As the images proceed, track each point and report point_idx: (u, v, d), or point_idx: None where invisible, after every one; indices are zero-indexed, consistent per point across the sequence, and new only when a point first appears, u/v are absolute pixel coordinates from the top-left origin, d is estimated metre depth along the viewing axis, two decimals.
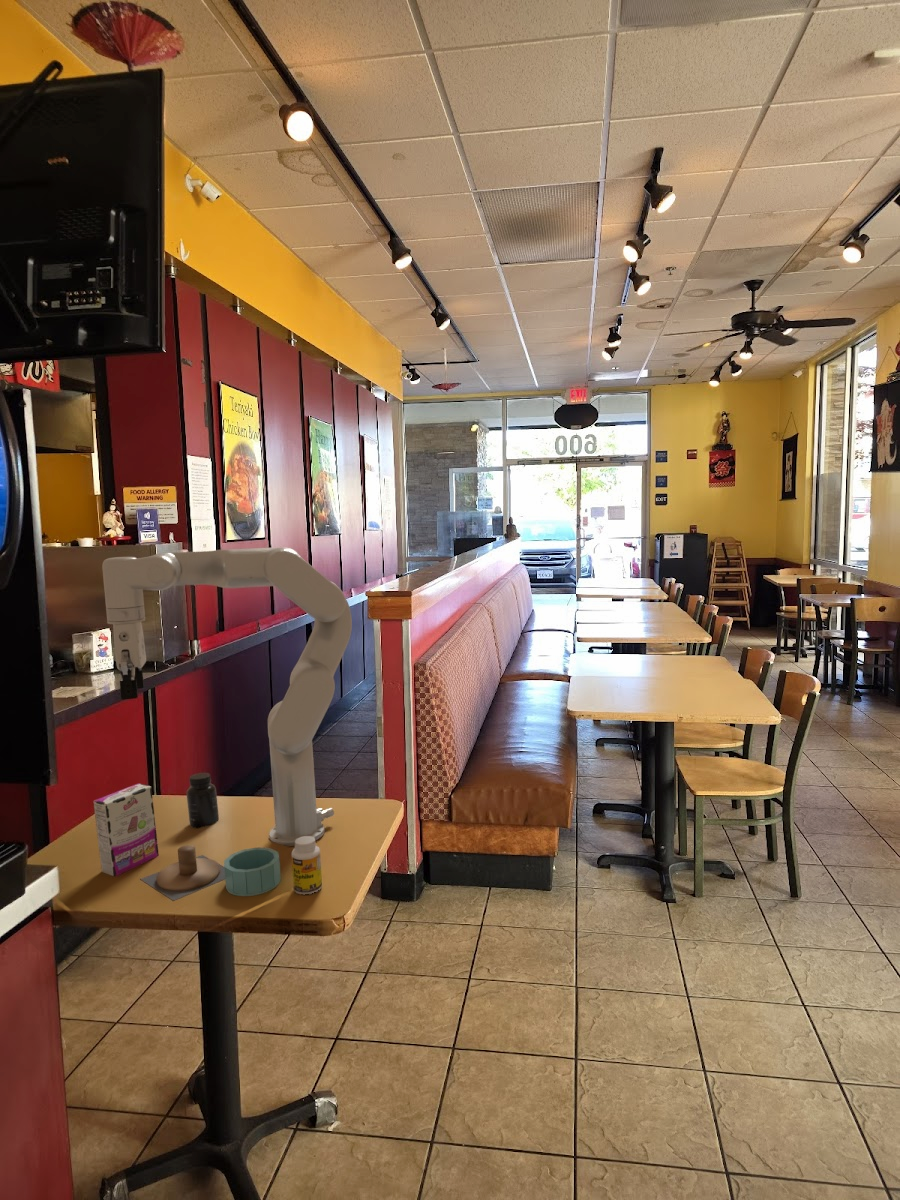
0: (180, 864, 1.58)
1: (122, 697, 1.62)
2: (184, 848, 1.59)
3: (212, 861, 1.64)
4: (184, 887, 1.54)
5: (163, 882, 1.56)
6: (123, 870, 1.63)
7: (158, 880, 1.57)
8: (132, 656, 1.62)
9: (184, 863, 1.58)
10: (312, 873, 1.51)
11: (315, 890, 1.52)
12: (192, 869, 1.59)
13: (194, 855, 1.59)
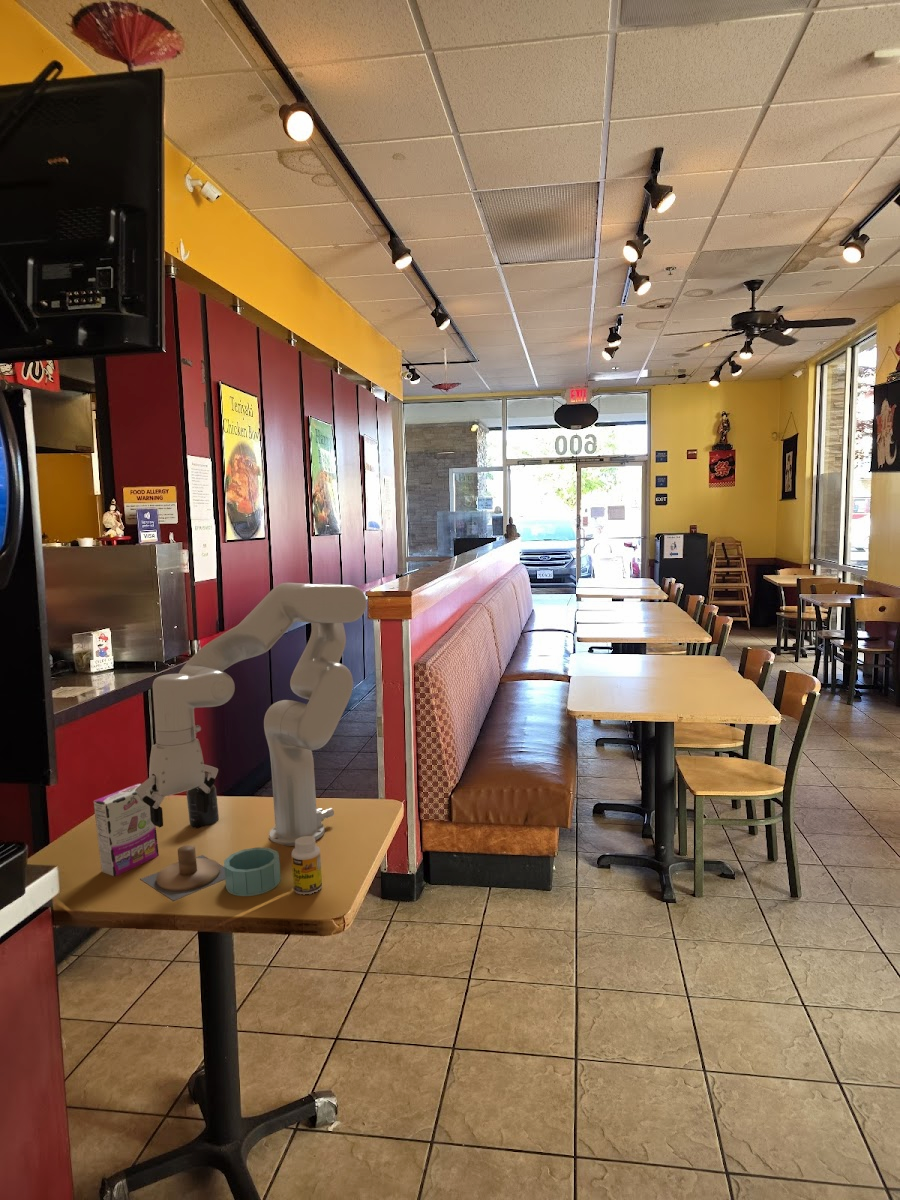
0: (180, 864, 1.58)
1: None
2: (184, 848, 1.59)
3: (212, 861, 1.64)
4: (184, 887, 1.54)
5: (163, 882, 1.56)
6: (123, 870, 1.63)
7: (158, 880, 1.57)
8: None
9: (184, 863, 1.58)
10: (312, 873, 1.51)
11: (315, 890, 1.52)
12: (192, 869, 1.59)
13: (194, 855, 1.59)
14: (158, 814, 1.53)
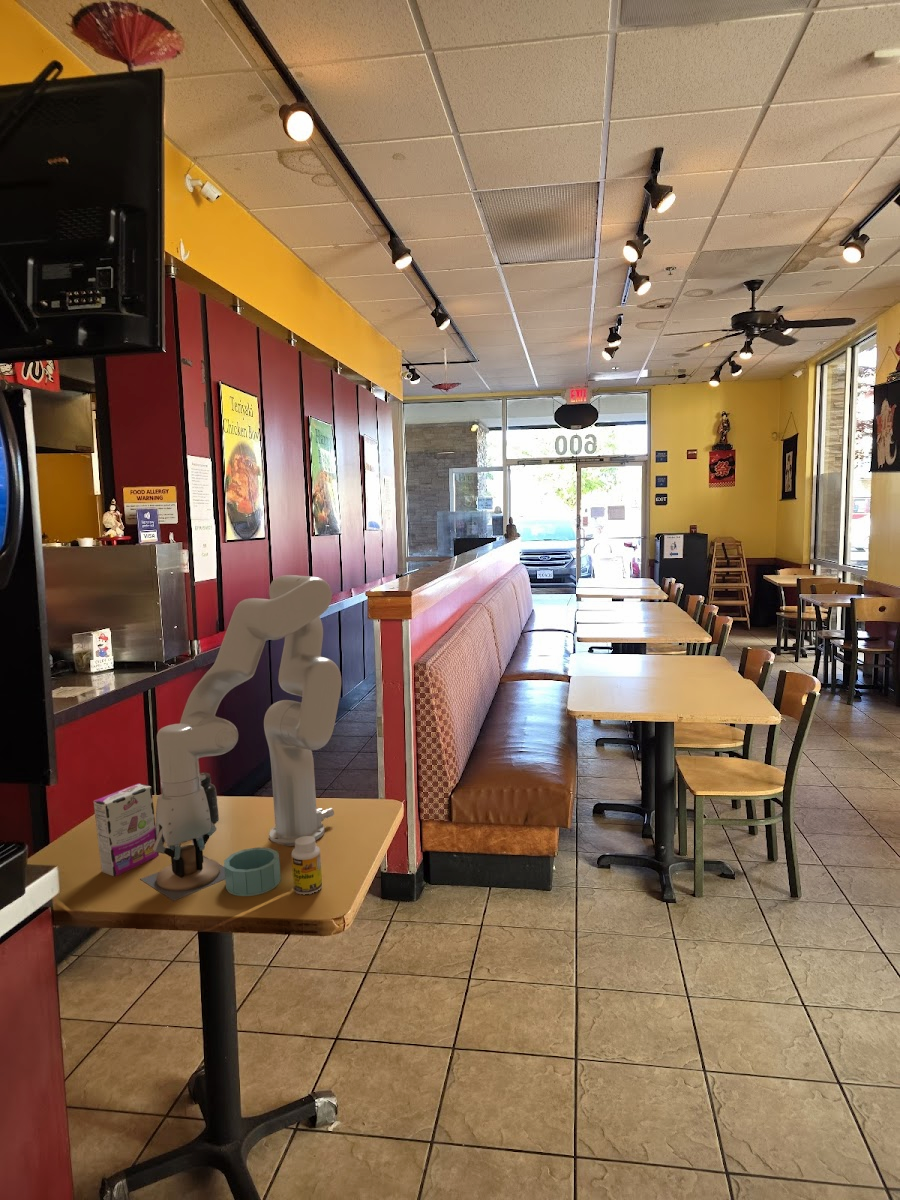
0: None
1: None
2: (184, 848, 1.59)
3: (212, 860, 1.64)
4: (184, 887, 1.54)
5: (163, 882, 1.56)
6: (123, 870, 1.63)
7: (158, 880, 1.57)
8: None
9: (184, 863, 1.58)
10: (312, 873, 1.51)
11: (315, 890, 1.52)
12: (192, 869, 1.59)
13: (194, 855, 1.59)
14: (179, 865, 1.57)
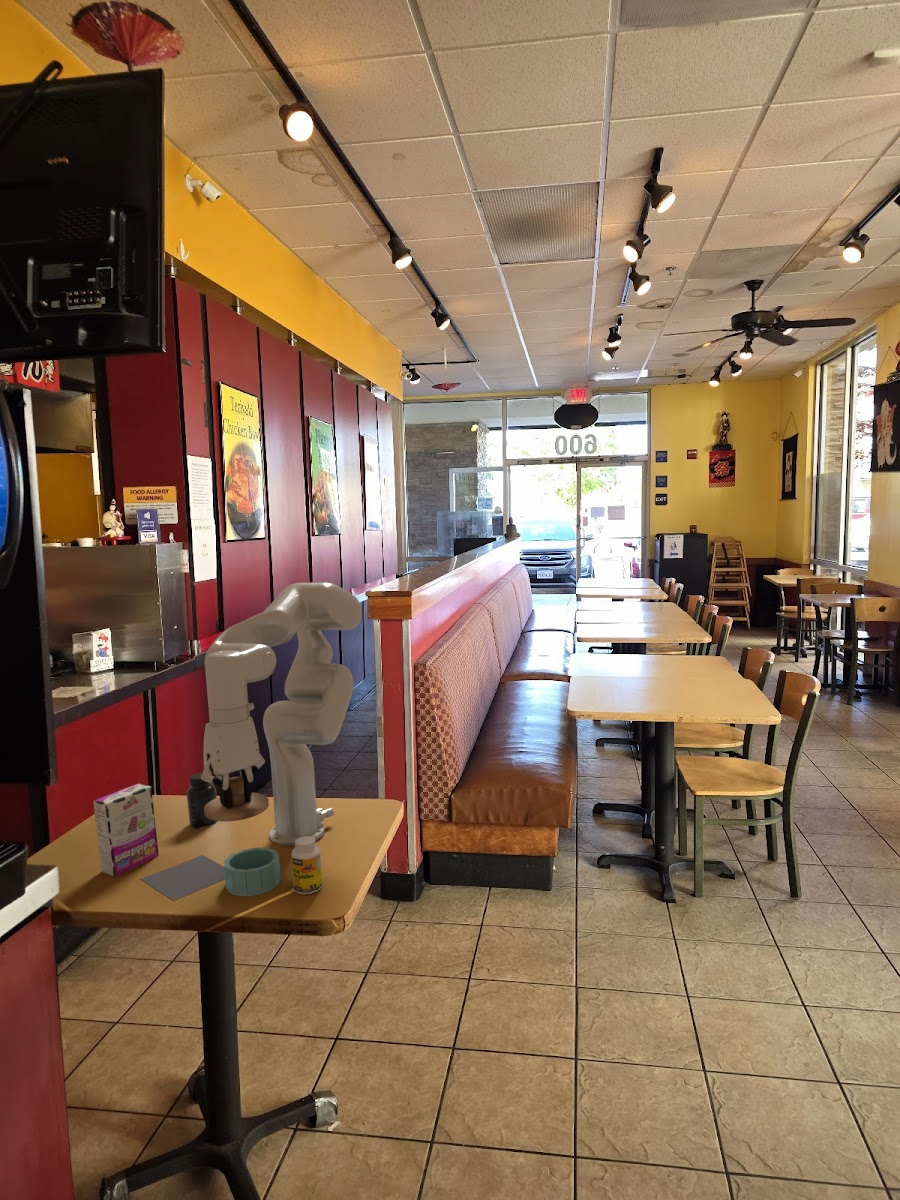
0: None
1: None
2: (232, 779, 1.54)
3: (260, 794, 1.59)
4: (233, 817, 1.49)
5: (211, 812, 1.51)
6: (123, 870, 1.63)
7: (206, 811, 1.52)
8: None
9: (232, 794, 1.53)
10: (312, 873, 1.51)
11: (315, 890, 1.52)
12: (240, 800, 1.54)
13: (242, 786, 1.54)
14: (227, 795, 1.52)
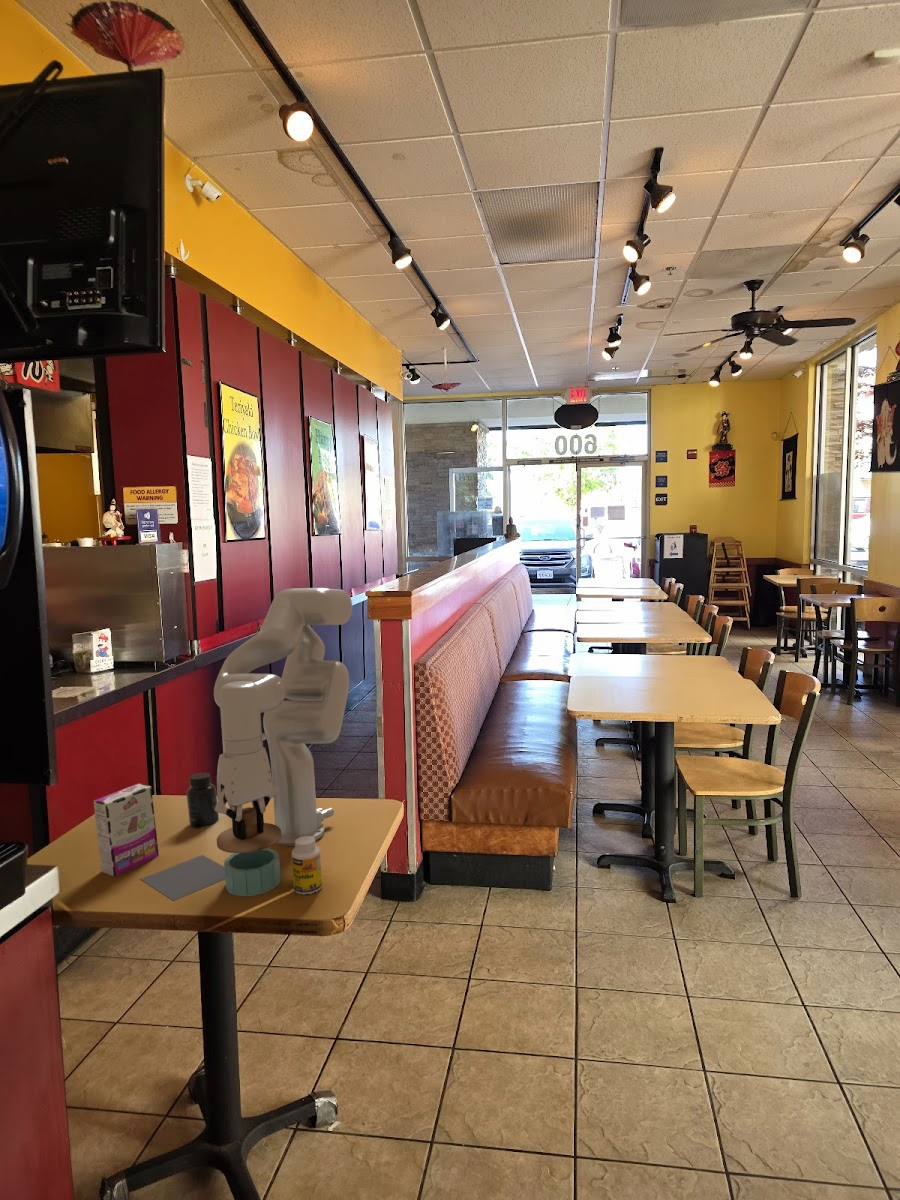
0: None
1: None
2: (245, 810, 1.54)
3: (272, 825, 1.59)
4: (247, 848, 1.49)
5: (224, 844, 1.50)
6: (123, 870, 1.63)
7: (219, 842, 1.51)
8: None
9: (245, 825, 1.53)
10: (312, 873, 1.51)
11: (315, 890, 1.52)
12: (253, 831, 1.53)
13: (255, 817, 1.54)
14: (241, 827, 1.52)
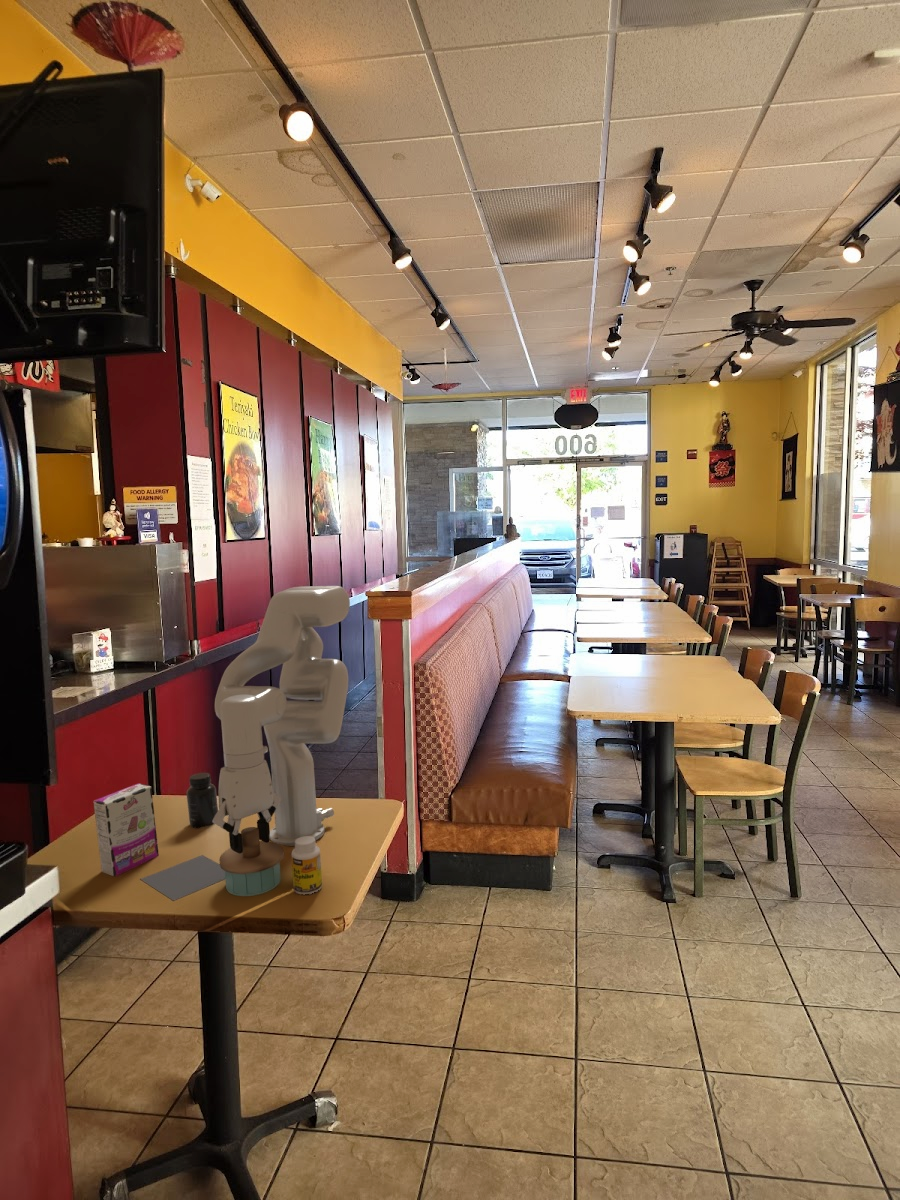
0: (244, 846, 1.54)
1: None
2: (247, 830, 1.55)
3: (274, 843, 1.60)
4: (250, 869, 1.50)
5: (227, 864, 1.51)
6: (123, 870, 1.63)
7: (222, 862, 1.52)
8: None
9: (248, 845, 1.54)
10: (312, 873, 1.51)
11: (315, 890, 1.52)
12: (256, 851, 1.54)
13: (258, 837, 1.55)
14: (238, 840, 1.52)
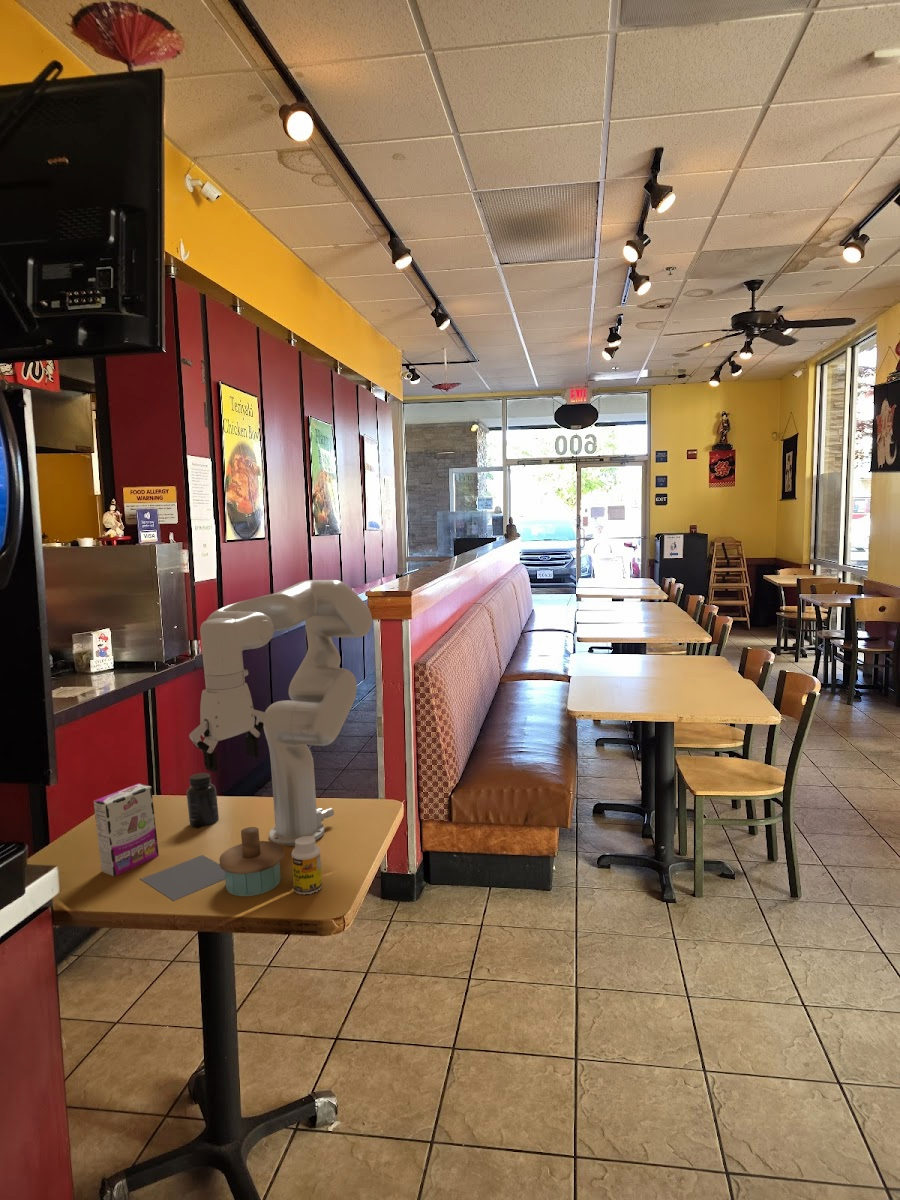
0: (244, 846, 1.54)
1: None
2: (247, 830, 1.55)
3: (274, 843, 1.60)
4: (250, 869, 1.50)
5: (227, 864, 1.51)
6: (123, 870, 1.63)
7: (222, 862, 1.52)
8: None
9: (248, 845, 1.54)
10: (312, 873, 1.51)
11: (315, 890, 1.52)
12: (256, 851, 1.54)
13: (258, 837, 1.55)
14: (212, 759, 1.52)
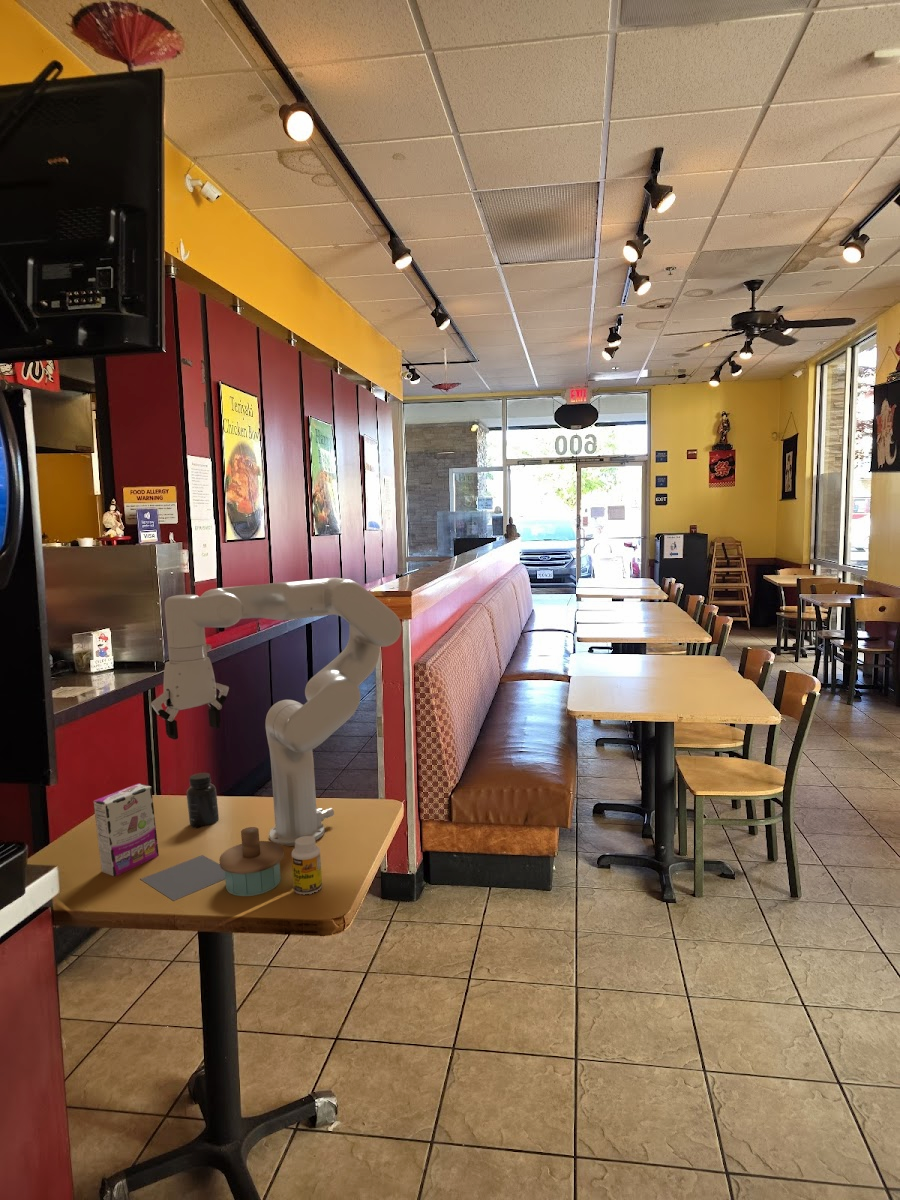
0: (244, 846, 1.54)
1: None
2: (247, 830, 1.55)
3: (274, 843, 1.60)
4: (250, 869, 1.50)
5: (227, 864, 1.51)
6: (123, 870, 1.63)
7: (222, 862, 1.52)
8: None
9: (248, 845, 1.54)
10: (312, 873, 1.51)
11: (315, 890, 1.52)
12: (256, 851, 1.54)
13: (258, 837, 1.55)
14: (173, 727, 1.61)
